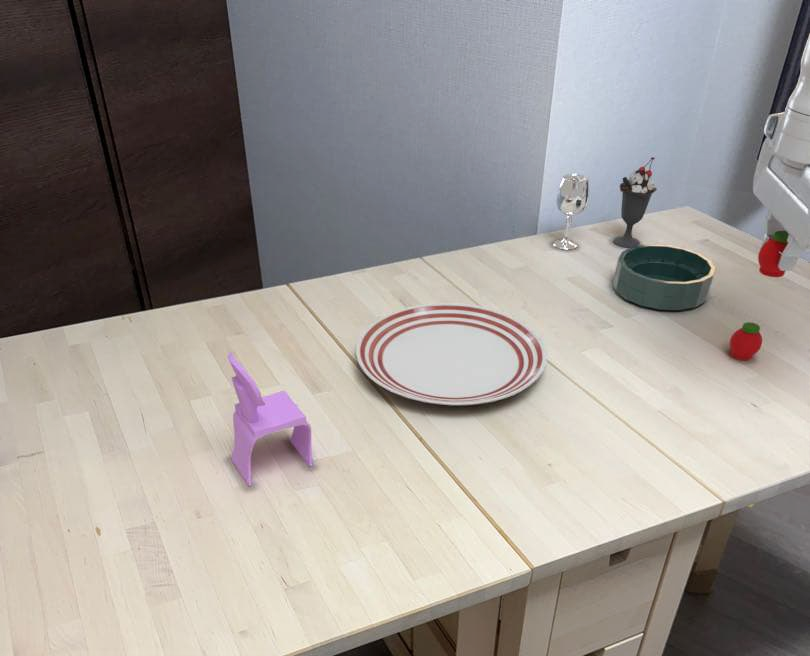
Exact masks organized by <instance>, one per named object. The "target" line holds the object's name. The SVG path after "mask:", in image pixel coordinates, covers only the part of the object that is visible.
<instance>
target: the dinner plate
mask: <svg viewBox="0 0 810 656" xmlns="http://www.w3.org/2000/svg"><path fill="white" fill-rule="evenodd" d="M355 355H356V360H357V362H358V365H359V367H360V368H361V370H362V372H363V373H364V374H365V376H367V377H368V378H369V379H370V380H372V381H373V382H374V383H375V384H376V385H378V386H380V387H381V388H383V389H385V390H387V391H388V392H391V393H393V394H395V395H396V396H397V395H398V396H400V397H403V398H406V399H409V400H414V401H417V402H422V403H426V404H427V403H428V404H434V405H442V406H474V405H482V404H483V405H484V404H489V403H493V402H497V401H501V400H504V399H507V398H510V397H513V396H515V395H517V394H519V393H521V392H523V391H525V390H526V389H528V388H529V387H531V386H532V385H533V384H534V383H535V382H536V381H537V380H539V378H540V377H541V376H542V374H543V372H544V370H545V368H546V366H547V363H548V351H547V347H546V345H545V343H544V341H543V340H542V338H541V337H540V336H539V334H538V333H537V332H536V331H535V330H534V329H533V328H532V327H530V326H529V325H528V324H526V323H525V322H524V321H522V320H520V319H519V318H516V317H515V316H513V315H511V314H508V313H506V312H503V311H501V310H498V309H494V308H490V307H487V306H482V305H477V304H471V303H462V302H461V303H460V302H434V303H432V302H431V303H424V304H423V303H422V304H417V305H411V306H408V307H404V308H400V309H397V310H394V311H391V312H390V313H389V312H388V313H386V314H385V315H383V316H381V317H379V318H377V319H375V320H374V321H373V322H371V323H370V324H368V326H366V328H365V329H364V330H363V331H362V333H361V334H360V335H359V337H358V339H357V342H356V348H355Z"/></svg>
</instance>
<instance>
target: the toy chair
mask: <svg viewBox="0 0 810 656" xmlns="http://www.w3.org/2000/svg"><path fill="white" fill-rule="evenodd" d="M227 359H228V361H229V363H230V365H231V368H232V370H233V372H234V374H235V376H231V382H232V384H233V387H234V390H235V391H234V392H235V393H236V397H237V400H238V402H237V403H234V412H233V414H232V424H233V432H234V442H233V449H232V452H231V456H230V460H231V462H232V463H233V465H234V466H235V467H236V469H237V471H238V472H239V474H240V475H241V477H242V478H243V480H244V482H245V483H246V485H247V486H248V487H251V486H253V485H252V471H251V469H252V468H251V461H252V460H251V459H252V453H253V452H252V451H253V448H254V446H255V444H256V442H257V441H258V440H259V439H260V438H262V437H265V436H268V435H271V434H273V433H275V432H279V431H282V430H286V429H289V428H293V430H292V433H291V435H290V438H289V441H290V443H291V445H292V446H293V447H294V448H295V450H296V451H297V452H298V454H299V455H300V456H301V457H302V459H303V460H304V462H305V463H306V464H307V465H308V467H313V449H312V446H313V445H312V427H311V425H310V424H309V422H308V421H307V416H306V414H304V413H303V411H302V410H301V409H300V408H299V407H298V405H296V403H295V402H294V401H293V400H292V398H291V397H290V395H289V394H288V393H287V392H286V390H281V391H277V392H273V393H271V394H268V395H266V396H262V394H261V390H260V389H259V386H258V385H257V384H256V382H255V381H254V379H253V378H252V376H251V375H250V374H249V373H248V371H246V369H245V368H244V366H242V365H241V364H240V362H239V361H238V360H237V358H236V357H235V356H234V354H233V352H229V354H228V355H227Z"/></svg>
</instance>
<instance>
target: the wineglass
mask: <svg viewBox="0 0 810 656" xmlns="http://www.w3.org/2000/svg"><path fill="white" fill-rule="evenodd" d="M589 198H590V178H589V177H588V176H586V175H585V174H579V173H568V174H564V175H563V176H562V178H561V180H560V183H559V186H558V189H557V192H556V198H555V199H556V200H555V201H556V207H557V209H558V211H559V212H560V213H562V214H563V215H566V216H567V217H566V220H565V223H566V225H565V229H566V230H565V235H564V238H563V239H556V240H554V241H553V243H552V244H553V246H554V247H555V248H557V249H560V250H574V249H576V248H577V247H578V245H577V242H575V241H574V240H571V239H569V231H570V227H571V224H572V220H573V218H572V216H576V215H579V214H581V213H582V212H584V211H585V210H586V208H587V206H588V203H589V200H590V199H589Z"/></svg>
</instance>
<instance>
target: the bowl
mask: <svg viewBox="0 0 810 656" xmlns="http://www.w3.org/2000/svg"><path fill="white" fill-rule="evenodd" d="M716 270H717V267H716V266H715V264H714V263H713V261H712V260H711V259H709V258H708V257H706V256H705V255H703V254H701V253H700V252H697V251H693V250H691V249H688V248H686V247H681V246H675V245H669V244H654V243H653V244H649V243H648V244H641V245H640V244H639V245H638V246H634V247H631V248H627V249H625V250H623V251H621V253H620V254H619V256H618V258H617V262H616V267H615V272H614V277H613V281H612V284H613V288H614V290H615V292H616V293H617V294H618V295H619V296H621V298H624V299H625V300H626V301H628V302H631V303H634V304H636V305H638V306H641V307H645V308H649V309H650V308H651V309H656V310H661V311H682V310H688V309H693V308H696V307H699V306H700V305H702V304H703V303H705V302H706V301H707V299H708V296H709V293H710V289H711V286H712V283H713V280H714V277H715V273H716Z"/></svg>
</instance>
